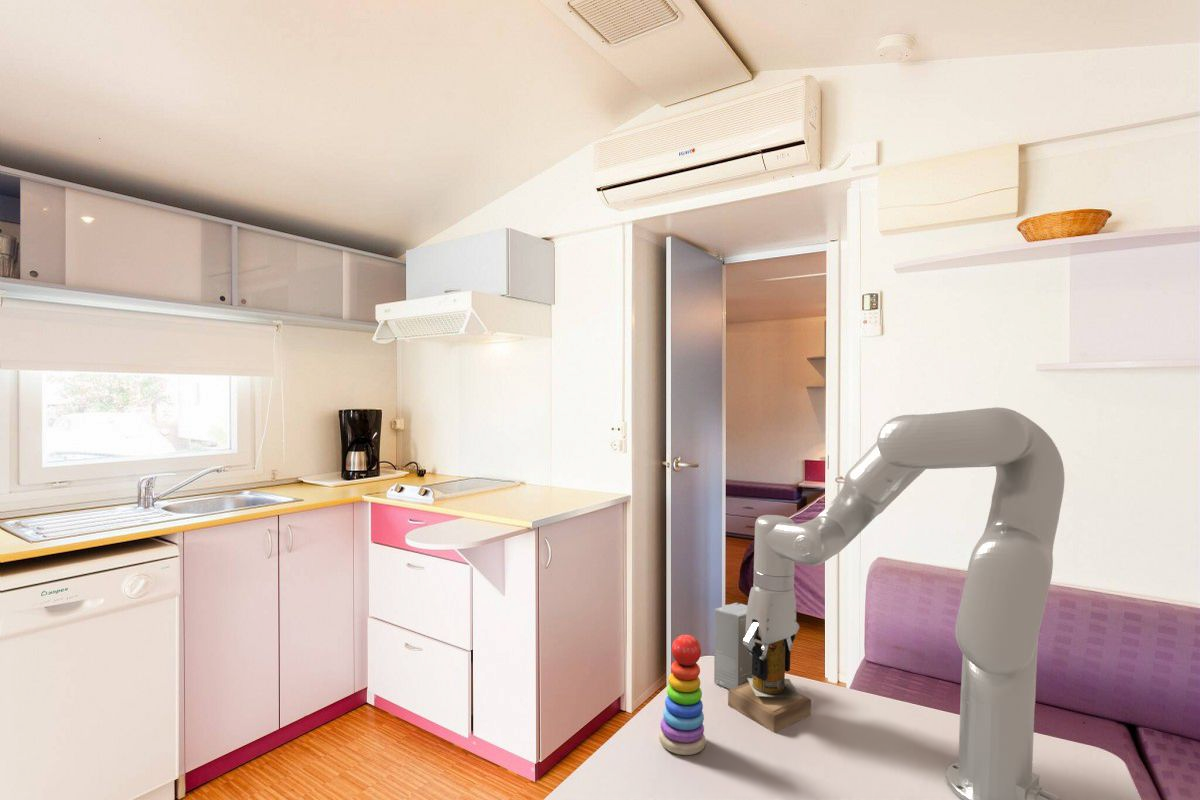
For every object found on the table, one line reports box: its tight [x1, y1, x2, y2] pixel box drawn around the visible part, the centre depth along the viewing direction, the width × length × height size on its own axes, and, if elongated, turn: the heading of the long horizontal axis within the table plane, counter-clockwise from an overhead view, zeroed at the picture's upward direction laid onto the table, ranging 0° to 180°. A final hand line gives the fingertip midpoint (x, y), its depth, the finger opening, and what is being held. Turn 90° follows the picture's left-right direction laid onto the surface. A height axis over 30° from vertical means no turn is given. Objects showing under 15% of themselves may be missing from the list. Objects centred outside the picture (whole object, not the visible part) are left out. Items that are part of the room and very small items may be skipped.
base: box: [727, 682, 812, 733], centre depth 115 cm, size 11×11×3 cm
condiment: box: [747, 636, 801, 697], centre depth 115 cm, size 7×8×12 cm
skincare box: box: [713, 602, 753, 690], centre depth 125 cm, size 8×7×16 cm
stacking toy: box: [658, 634, 706, 756], centre depth 103 cm, size 8×8×19 cm
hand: (771, 672), depth 114 cm, fingers closed on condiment, 6 cm apart
